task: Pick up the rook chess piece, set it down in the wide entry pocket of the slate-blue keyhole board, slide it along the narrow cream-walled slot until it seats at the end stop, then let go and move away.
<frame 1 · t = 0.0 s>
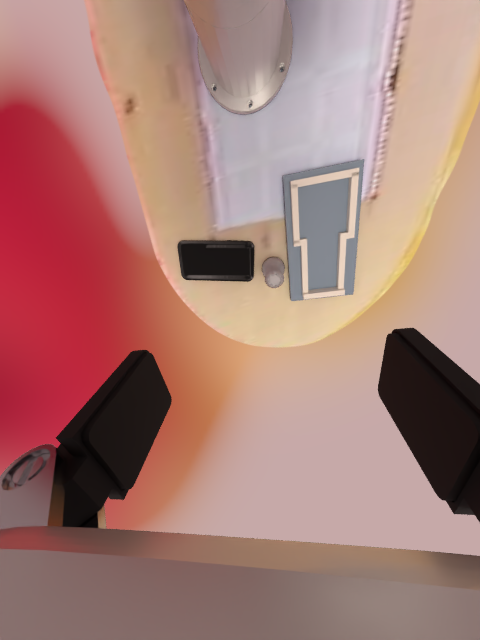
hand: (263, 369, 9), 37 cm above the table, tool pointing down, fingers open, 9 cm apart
rook chess piece: (273, 267, 44), on the table
phone: (217, 260, 45), on the table
keyhole board: (320, 239, 40), on the table
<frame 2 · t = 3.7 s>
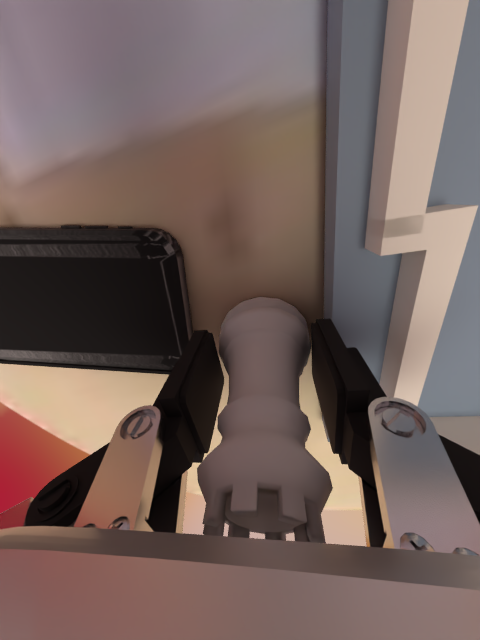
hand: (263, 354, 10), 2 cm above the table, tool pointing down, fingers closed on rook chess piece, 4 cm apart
rook chess piece: (263, 330, 12), on the table, touching gripper
phone: (64, 299, 12), on the table
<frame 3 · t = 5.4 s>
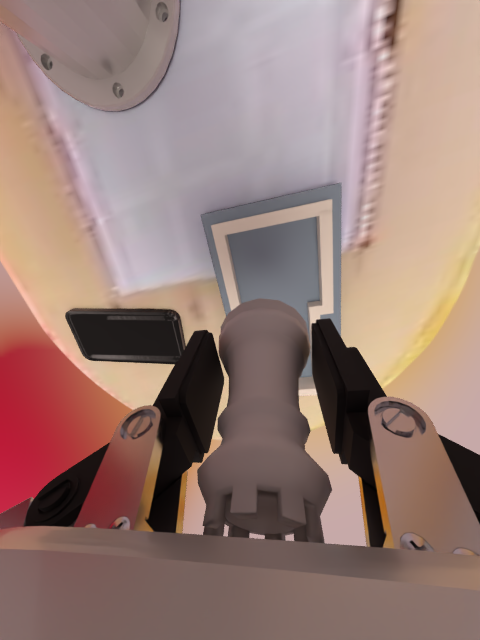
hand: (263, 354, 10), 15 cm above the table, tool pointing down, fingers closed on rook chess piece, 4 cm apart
rook chess piece: (263, 331, 12), point 13 cm above the table, touching gripper
phone: (131, 333, 30), on the table
keyhole board: (280, 308, 25), on the table
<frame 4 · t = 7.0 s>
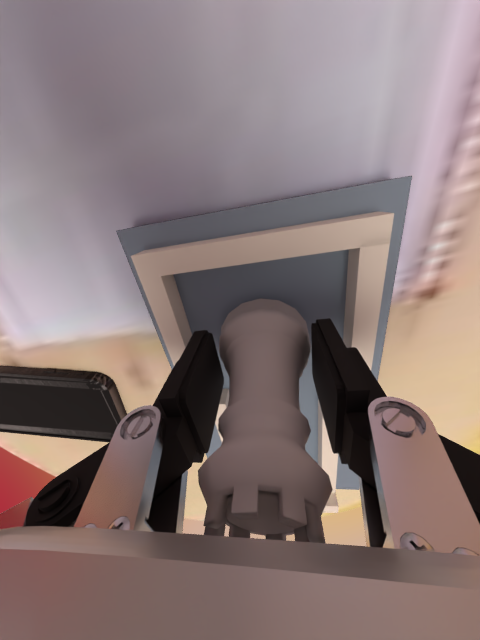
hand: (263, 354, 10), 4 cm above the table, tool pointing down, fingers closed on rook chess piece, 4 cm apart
rook chess piece: (263, 331, 12), point 1 cm above the table, touching gripper
phone: (48, 396, 20), on the table
keyhole board: (272, 381, 15), on the table
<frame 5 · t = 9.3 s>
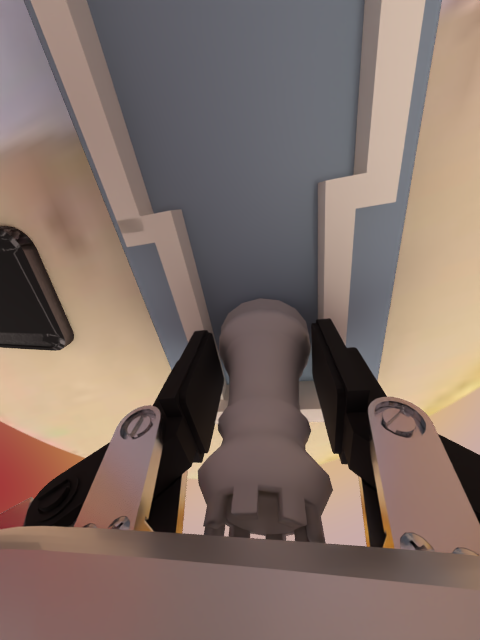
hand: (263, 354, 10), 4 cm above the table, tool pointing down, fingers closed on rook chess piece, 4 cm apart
rook chess piece: (263, 331, 12), point 1 cm above the table, touching gripper
keyhole board: (251, 220, 10), on the table
when the fingers open (3 cm above the table, at t = 10.8 s): rook chess piece stays where it is, resting on keyhole board.
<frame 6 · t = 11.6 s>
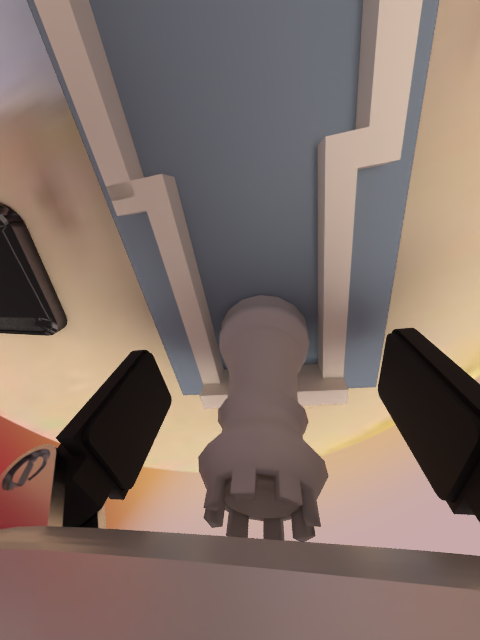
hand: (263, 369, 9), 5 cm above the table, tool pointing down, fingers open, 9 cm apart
rook chess piece: (263, 328, 12), point 1 cm above the table, touching keyhole board
keyhole board: (248, 193, 10), on the table
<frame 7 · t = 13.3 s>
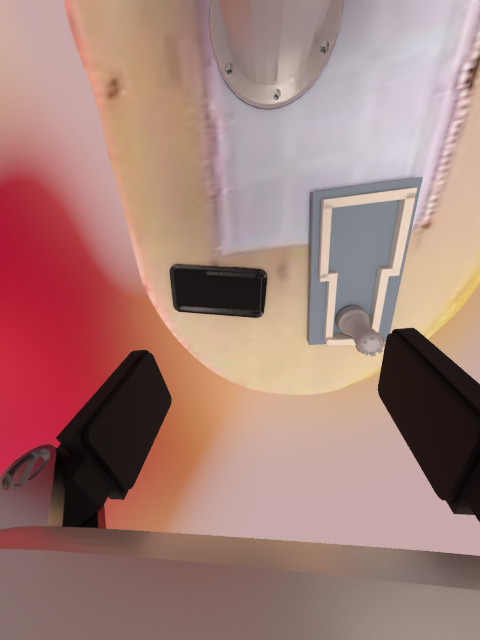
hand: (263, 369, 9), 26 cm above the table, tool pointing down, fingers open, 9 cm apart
rook chess piece: (349, 317, 33), point 1 cm above the table, touching keyhole board
phone: (219, 289, 36), on the table
keyhole board: (351, 273, 32), on the table
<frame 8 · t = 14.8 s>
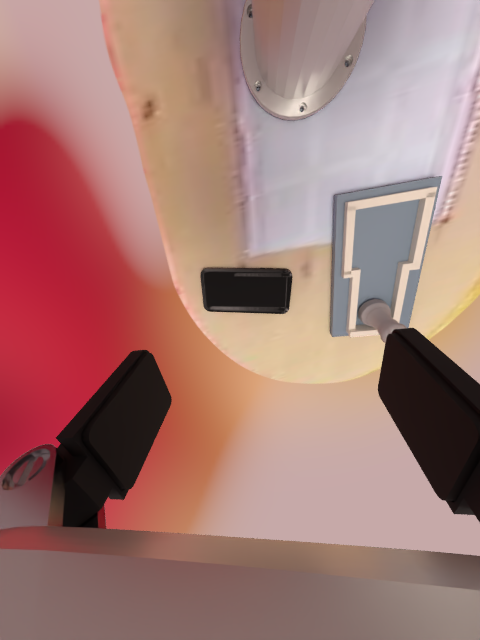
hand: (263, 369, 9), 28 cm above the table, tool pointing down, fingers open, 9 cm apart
rook chess piece: (371, 309, 36), point 1 cm above the table, touching keyhole board
phone: (246, 289, 38), on the table
keyhole board: (372, 268, 34), on the table
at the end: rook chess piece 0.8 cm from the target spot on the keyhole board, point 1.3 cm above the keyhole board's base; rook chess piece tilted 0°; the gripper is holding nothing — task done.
